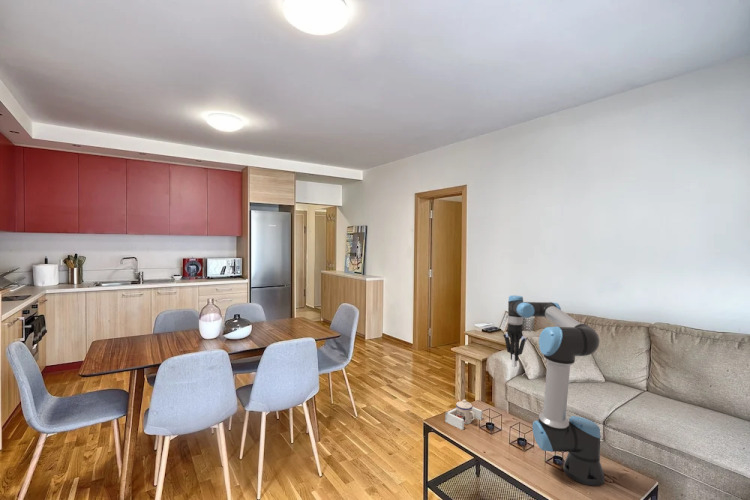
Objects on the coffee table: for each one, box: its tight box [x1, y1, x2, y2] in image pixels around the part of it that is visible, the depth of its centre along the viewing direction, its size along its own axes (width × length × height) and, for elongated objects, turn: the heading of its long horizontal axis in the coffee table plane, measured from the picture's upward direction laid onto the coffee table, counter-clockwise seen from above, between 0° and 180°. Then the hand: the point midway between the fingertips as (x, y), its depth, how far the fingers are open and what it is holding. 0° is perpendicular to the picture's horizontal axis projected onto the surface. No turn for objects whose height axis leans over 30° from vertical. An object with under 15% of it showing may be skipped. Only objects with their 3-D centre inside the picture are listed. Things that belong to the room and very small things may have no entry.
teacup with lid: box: [455, 399, 476, 425], centre depth 200 cm, size 12×9×12 cm
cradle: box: [444, 406, 483, 431], centre depth 201 cm, size 12×19×5 cm, turn 130°
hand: (514, 366), depth 198 cm, fingers closed
